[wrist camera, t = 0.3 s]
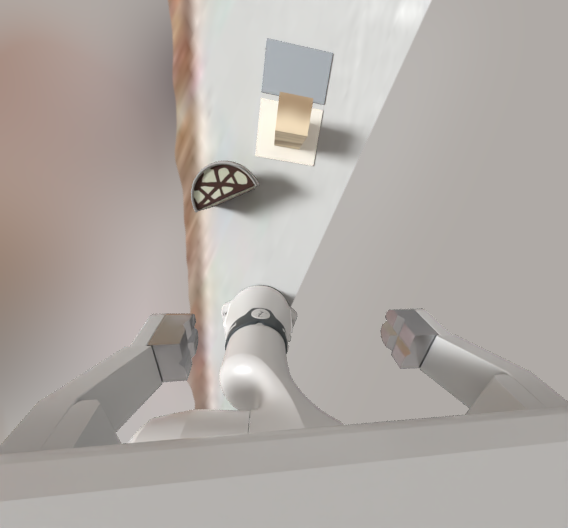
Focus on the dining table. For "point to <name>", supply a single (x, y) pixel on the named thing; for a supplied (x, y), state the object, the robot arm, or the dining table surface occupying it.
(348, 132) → the dining table surface
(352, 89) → the dining table surface
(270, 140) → the board
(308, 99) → the birch block
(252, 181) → the food container
